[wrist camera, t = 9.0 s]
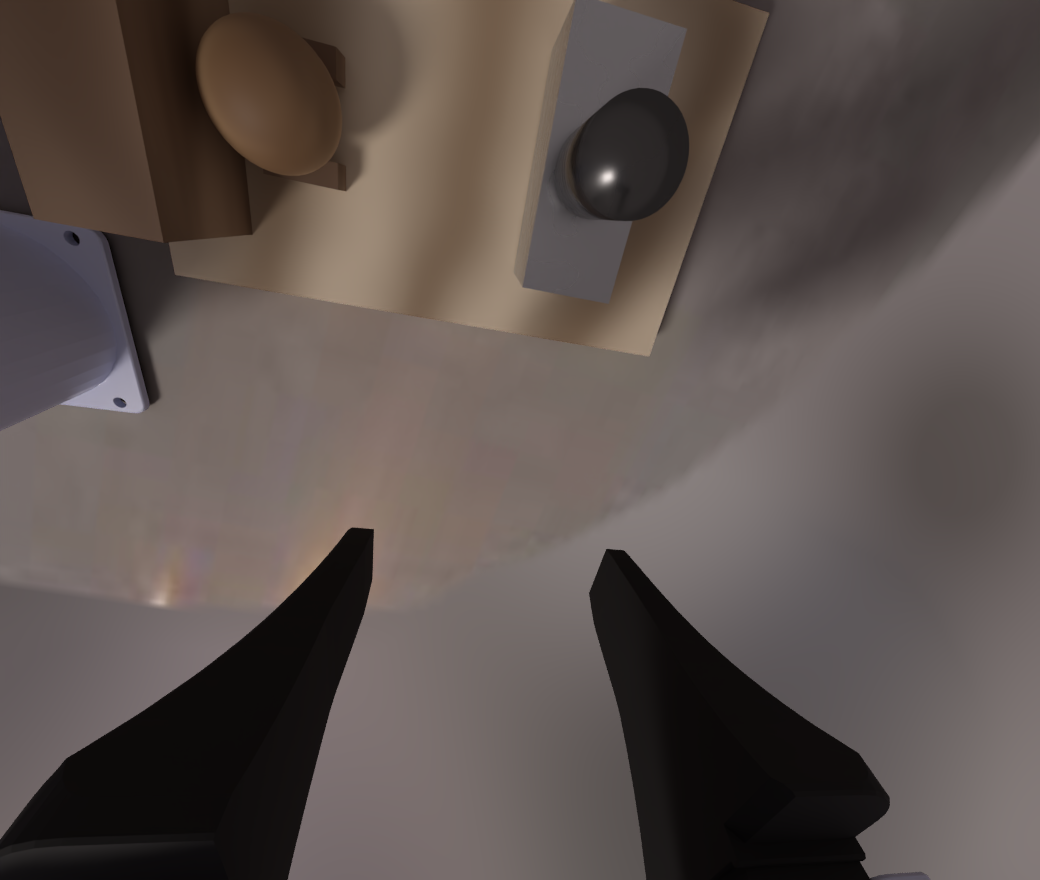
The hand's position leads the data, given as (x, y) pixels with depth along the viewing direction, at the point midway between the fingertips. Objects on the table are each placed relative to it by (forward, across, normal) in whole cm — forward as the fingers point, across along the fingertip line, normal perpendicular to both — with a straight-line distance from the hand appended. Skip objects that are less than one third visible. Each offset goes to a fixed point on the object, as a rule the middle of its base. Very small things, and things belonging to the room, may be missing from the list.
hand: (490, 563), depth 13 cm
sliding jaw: (+9, -2, -11) cm, 14 cm away
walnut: (+6, +8, -11) cm, 15 cm away
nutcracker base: (+10, +3, -11) cm, 15 cm away
